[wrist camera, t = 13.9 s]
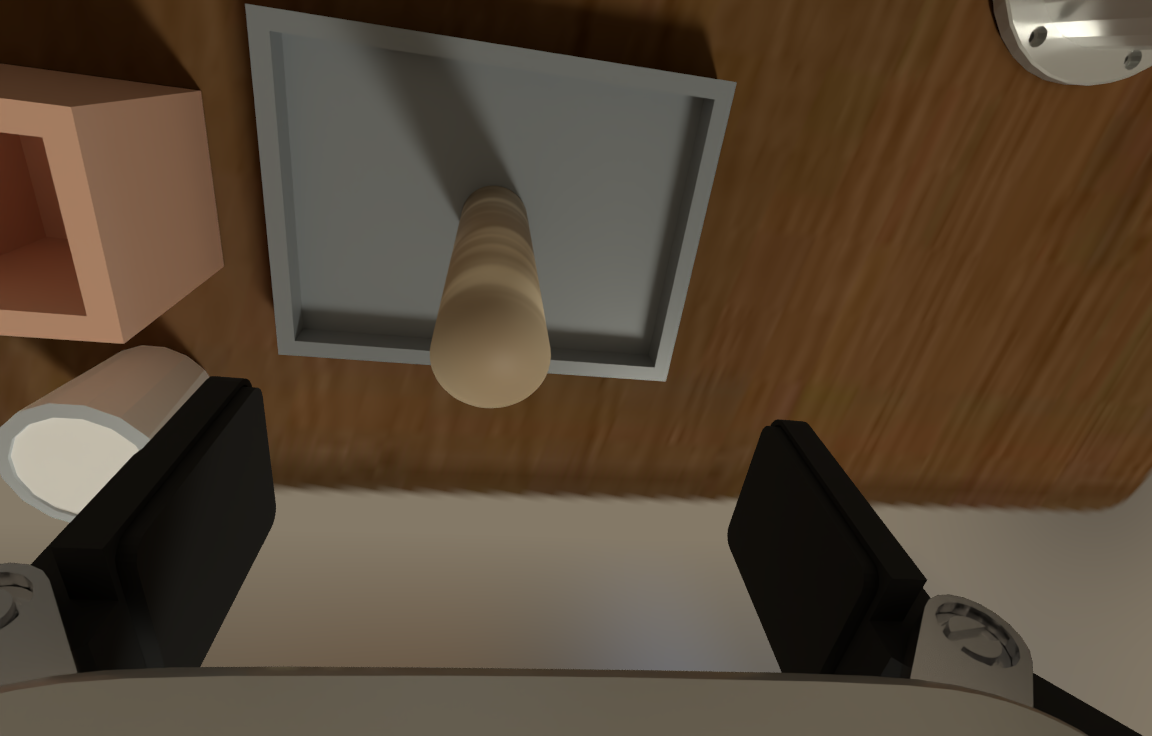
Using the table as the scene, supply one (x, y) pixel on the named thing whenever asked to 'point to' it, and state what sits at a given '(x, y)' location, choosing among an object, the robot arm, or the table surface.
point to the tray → (475, 186)
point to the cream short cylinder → (93, 427)
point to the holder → (100, 204)
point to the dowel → (491, 307)
